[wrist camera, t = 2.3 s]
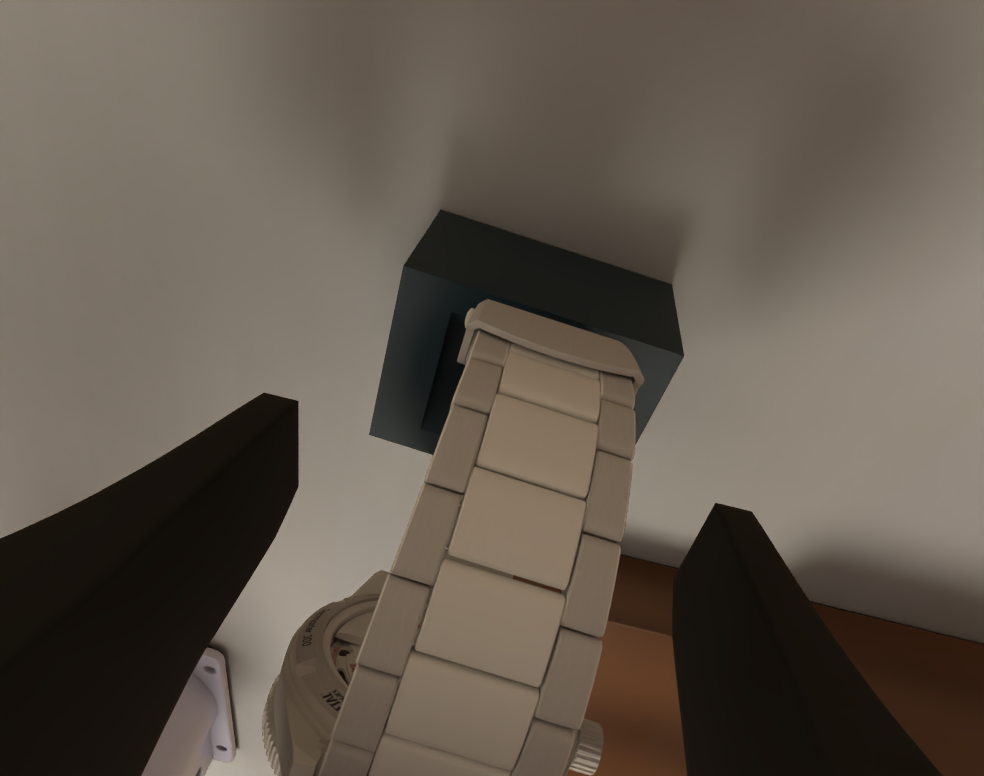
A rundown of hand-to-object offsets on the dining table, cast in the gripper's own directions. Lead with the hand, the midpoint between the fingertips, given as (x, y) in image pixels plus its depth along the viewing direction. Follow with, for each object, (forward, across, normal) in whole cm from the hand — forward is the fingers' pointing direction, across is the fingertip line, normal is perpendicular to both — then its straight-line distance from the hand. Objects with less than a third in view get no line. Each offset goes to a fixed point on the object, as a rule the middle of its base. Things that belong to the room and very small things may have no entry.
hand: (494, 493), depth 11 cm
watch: (+6, 0, 0) cm, 6 cm away
